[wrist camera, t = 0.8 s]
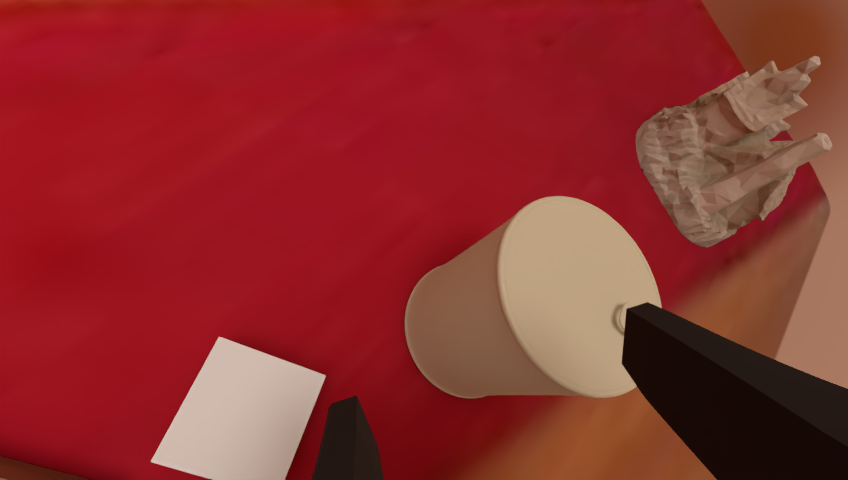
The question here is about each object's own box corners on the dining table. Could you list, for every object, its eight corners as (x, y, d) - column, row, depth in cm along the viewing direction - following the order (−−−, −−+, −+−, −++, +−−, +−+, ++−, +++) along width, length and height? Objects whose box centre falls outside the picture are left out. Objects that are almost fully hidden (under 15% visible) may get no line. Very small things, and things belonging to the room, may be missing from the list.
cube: (271, 476, 20) (277, 498, 16) (173, 447, 19) (150, 462, 15) (312, 379, 23) (326, 375, 18) (225, 348, 22) (219, 336, 17)
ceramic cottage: (685, 255, 39) (897, 176, 27) (611, 118, 44) (765, -4, 31) (752, 233, 47) (940, 164, 35) (684, 119, 52) (830, 22, 39)
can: (490, 427, 26) (651, 447, 15) (376, 344, 25) (467, 308, 14) (539, 312, 30) (688, 268, 20) (444, 239, 29) (550, 153, 19)
